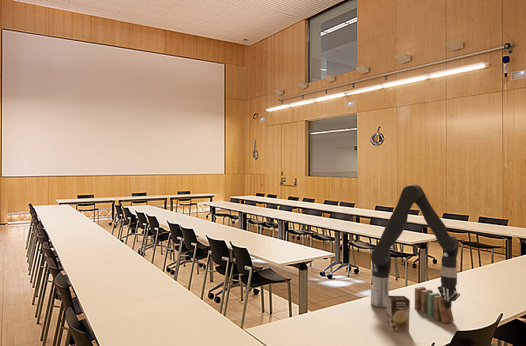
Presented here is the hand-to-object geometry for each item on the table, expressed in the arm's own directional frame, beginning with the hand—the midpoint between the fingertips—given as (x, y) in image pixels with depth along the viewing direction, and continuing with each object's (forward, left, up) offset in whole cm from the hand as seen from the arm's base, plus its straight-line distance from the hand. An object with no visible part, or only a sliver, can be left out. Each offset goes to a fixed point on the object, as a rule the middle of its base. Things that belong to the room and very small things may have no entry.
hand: (448, 307), depth 192 cm
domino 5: (0, 0, -8) cm, 8 cm away
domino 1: (0, +20, -8) cm, 22 cm away
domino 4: (0, +5, -8) cm, 9 cm away
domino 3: (0, +10, -8) cm, 13 cm away
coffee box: (-30, +2, -8) cm, 31 cm away
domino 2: (0, +15, -8) cm, 17 cm away
